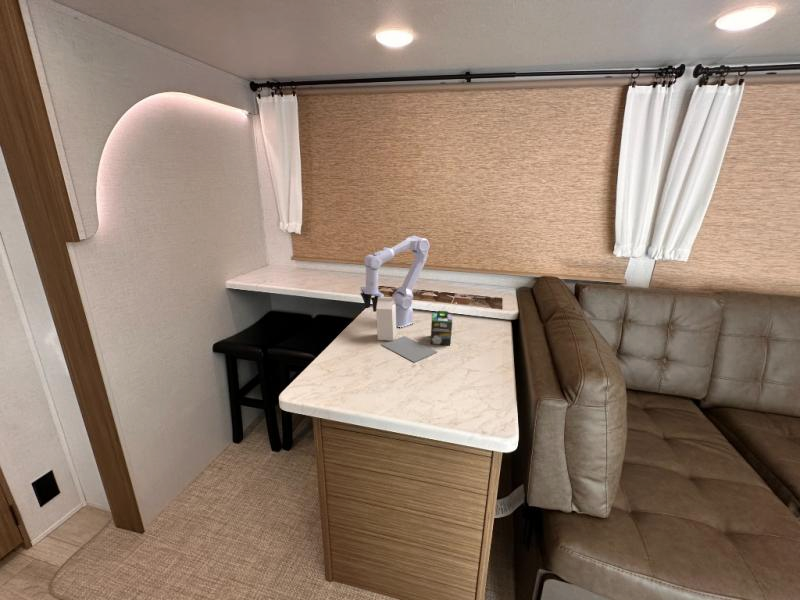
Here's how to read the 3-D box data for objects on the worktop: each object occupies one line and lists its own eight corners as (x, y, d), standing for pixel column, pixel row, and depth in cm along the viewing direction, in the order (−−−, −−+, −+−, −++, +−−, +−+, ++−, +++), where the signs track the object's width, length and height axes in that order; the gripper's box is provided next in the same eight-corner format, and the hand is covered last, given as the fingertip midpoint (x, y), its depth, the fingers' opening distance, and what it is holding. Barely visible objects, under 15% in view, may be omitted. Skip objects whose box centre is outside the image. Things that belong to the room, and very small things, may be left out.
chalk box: (450, 337, 164) (452, 307, 159) (450, 345, 155) (453, 314, 150) (430, 335, 164) (432, 305, 160) (429, 344, 156) (432, 313, 151)
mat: (404, 336, 162) (404, 336, 162) (437, 352, 148) (437, 351, 148) (381, 345, 153) (381, 344, 152) (414, 362, 139) (414, 362, 139)
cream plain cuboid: (393, 341, 156) (391, 300, 150) (377, 340, 157) (375, 299, 151) (396, 334, 162) (395, 295, 157) (381, 333, 164) (379, 294, 158)
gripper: (355, 279, 162) (355, 306, 167) (375, 286, 152) (374, 315, 157) (367, 276, 167) (367, 303, 171) (387, 283, 157) (386, 312, 161)
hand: (371, 309), depth 164 cm, fingers open, 5 cm apart
